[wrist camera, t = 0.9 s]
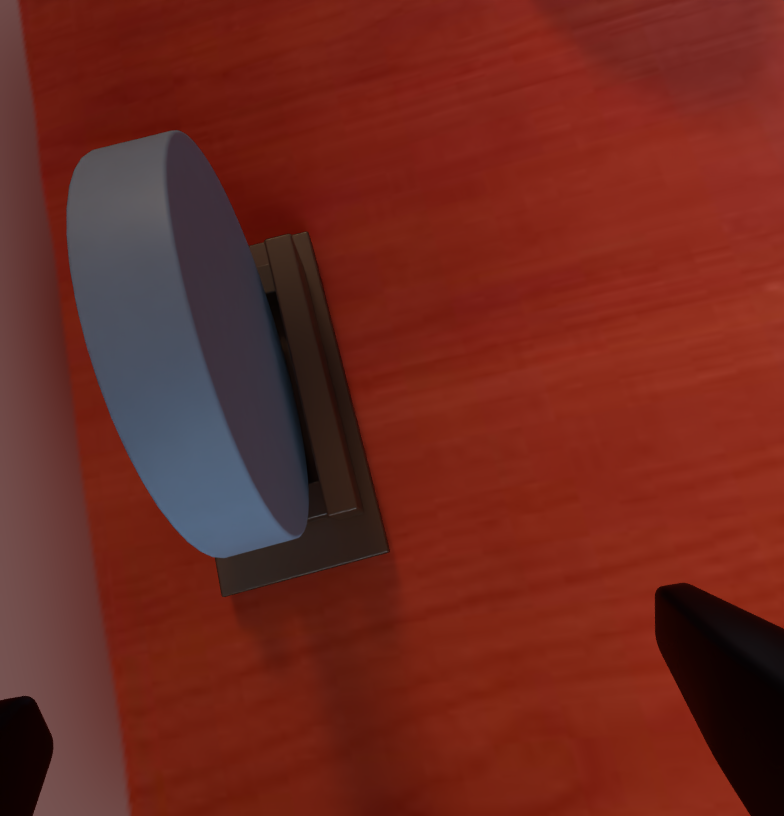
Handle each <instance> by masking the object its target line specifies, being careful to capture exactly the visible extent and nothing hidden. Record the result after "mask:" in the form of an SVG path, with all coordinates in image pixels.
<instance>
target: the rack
mask: <svg viewBox="0 0 784 816" xmlns="http://www.w3.org/2000/svg"><path fill="white" fill-rule="evenodd" d="M249 249H250V251H251V254H252V257H253V259H254V262H255V265H256V268H257V270H258V273H259V276H260V279H261V282H262V285H263V288H264V291H265V294H266V297H267V300H268V303H269V306H270V309H271V312H272V315H273V319H274V322H275V325H276V329H277V332H278V335H279V339H280V343H281V346H282V350H283V353H284V357H285V361H286V365H287V369H288V372H289V376H290V381H291V385H292V389H293V393H294V398H295V402H296V407H297V411H298V416H299V421H300V427H301V432H302V438H303V444H304V450H305V457H306V465H307V474H308V487H309V511H308V519H307V525H306V528H305V531H304V532H303V534H302V535H301V536H300V537H299V538H296V539H294V540H290V541H286V542H282V543H279V544H275V545H271V546H268V547H264V548H260V549H256V550H253V551H249V552H245V553H242V554H238V555H234V556H230V557H227V558H218V557H215V561H216V566H217V572H218V578H219V583H220V589H221V594H222V597H226V596H230V595H233V594H237V593H241V592H244V591H248V590H252V589H256V588H259V587H263V586H267V585H270V584H274V583H278V582H281V581H285V580H289V579H292V578H296V577H300V576H303V575H307V574H311V573H314V572H318V571H322V570H325V569H329V568H333V567H337V566H340V565H344V564H348V563H351V562H355V561H359V560H362V559H366V558H370V557H373V556H377V555H381V554H384V553H388V552H389V551H390V549H389V545H388V541H387V537H386V533H385V529H384V525H383V521H382V517H381V513H380V509H379V505H378V501H377V497H376V494H375V490H374V486H373V482H372V478H371V474H370V470H369V466H368V462H367V458H366V454H365V450H364V446H363V442H362V439H361V435H360V431H359V427H358V423H357V419H356V415H355V411H354V407H353V403H352V399H351V395H350V391H349V387H348V383H347V380H346V376H345V372H344V368H343V364H342V360H341V356H340V352H339V348H338V344H337V340H336V336H335V332H334V328H333V324H332V321H331V317H330V313H329V309H328V305H327V301H326V297H325V293H324V289H323V285H322V281H321V277H320V273H319V269H318V265H317V262H316V258H315V254H314V250H313V246H312V242H311V239H310V236H309V233H308V232H303V233H299V234H295V235H291V234H285V235H281V236H277V237H273V238H269V239H266V240H265V241H264V242H263V243H259V244H255V245H251V246H249Z"/></svg>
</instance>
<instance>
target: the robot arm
mask: <svg viewBox="0 0 784 816" xmlns="http://www.w3.org/2000/svg"><path fill="white" fill-rule="evenodd" d="M655 635H656V640H657V644H658V647H659V650H660V652H661V654H662V656H663V658H664V660H665V662H666V664H667V666H668V668H669V670H670V672H671V674H672V676H673V678H674V680H675V681H676V683H677V685H678V687H679V689H680V691H681V693H682V695H683V697H684V699H685V701H686V703H687V705H688V707H689V709H690V711H691V713H692V715H693V717H694V719H695V721H696V723H697V725H698V727H699V729H700V731H701V733H702V735H703V737H704V739H705V741H706V743H707V744H708V746H709V748H710V750H711V752H712V754H713V756H714V758H715V759H716V761H717V762H718V764H719V766H720V767H721V769H722V771H723V772H724V774H725V776H726V777H727V779H728V781H729V782H730V784H731V785H732V787H733V788H734V790H735V792H736V793H737V795H738V796H739V798H740V800H741V801H742V803H743V804H744V806H745V807H746V809H747V811H748V812H749V814H750V815H751V816H784V629H783V628H781V627H779V626H777V625H775V624H772V623H770V622H768V621H766V620H764V619H762V618H760V617H758V616H756V615H754V614H751V613H749V612H747V611H745V610H743V609H741V608H739V607H737V606H735V605H733V604H730V603H728V602H726V601H724V600H722V599H720V598H718V597H716V596H714V595H712V594H709V593H707V592H705V591H703V590H701V589H699V588H697V587H695V586H693V585H690V584H688V583H678V584H672V585H666V586H661V587H659V588H658V589H657V590H656V593H655ZM52 754H53V738H52V735H51V733H50V731H49V729H48V727H47V724H46V722H45V720H44V718H43V716H42V714H41V712H40V710H39V707H38V705H37V703H36V702H35V700H34V699H33V698H31V697H29V696H22V697H15V698H10V699H4V700H0V816H33V813H34V810H35V807H36V804H37V801H38V798H39V795H40V792H41V789H42V786H43V783H44V780H45V777H46V774H47V770H48V768H49V764H50V761H51V758H52Z"/></svg>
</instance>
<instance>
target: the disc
mask: <svg viewBox="0 0 784 816" xmlns="http://www.w3.org/2000/svg"><path fill="white" fill-rule="evenodd" d="M67 244H68V254H69V264H70V272H71V278H72V283H73V289H74V294H75V300H76V306H77V310H78V314H79V318H80V322H81V326H82V330H83V334H84V338H85V342H86V345H87V349H88V352H89V355H90V358H91V361H92V365H93V368H94V371H95V374H96V377H97V381H98V384H99V386H100V389H101V391H102V394H103V397H104V399H105V402H106V405H107V407H108V410H109V413H110V415H111V418H112V420H113V422H114V425H115V427H116V429H117V431H118V434H119V436H120V438H121V440H122V442H123V445H124V447H125V449H126V451H127V453H128V455H129V457H130V459H131V461H132V463H133V465H134V467H135V469H136V470H137V472H138V474H139V476H140V478H141V480H142V482H143V483H144V485H145V487H146V488H147V490H148V491H149V493H150V495H151V496H152V498H153V499H154V501H155V503H156V504H157V506H158V507H159V509H160V510H161V511H162V513H163V514H164V515H165V516H166V518H167V519H168V520H169V522H170V523H171V524H172V526H173V527H174V528H175V529H176V530H177V531H178V532H179V533H180V534H181V535H182V536H183V537H184V538H185V539H186V541H187V542H189V543H190V544H191V545H193V546H194V547H195V548H197V549H198V550H199V551H201V552H203V553H205V554H207V555H209V556H212V557H218V558H227V557H230V556H234V555H238V554H242V553H245V552H249V551H253V550H256V549H260V548H264V547H268V546H271V545H275V544H279V543H282V542H286V541H290V540H294V539H296V538H299V537H300V536H301V535H302V534H303V532H304V531H305V528H306V525H307V519H308V511H309V487H308V474H307V465H306V457H305V450H304V444H303V438H302V432H301V427H300V421H299V416H298V411H297V407H296V402H295V398H294V393H293V389H292V385H291V381H290V376H289V372H288V369H287V365H286V361H285V357H284V353H283V350H282V346H281V343H280V339H279V335H278V332H277V329H276V325H275V322H274V319H273V315H272V312H271V309H270V306H269V303H268V300H267V297H266V294H265V291H264V288H263V285H262V282H261V279H260V276H259V273H258V270H257V268H256V265H255V262H254V259H253V257H252V254H251V251H250V249H249V246H248V244H247V241H246V239H245V236H244V234H243V231H242V229H241V226H240V224H239V222H238V219H237V217H236V215H235V212H234V210H233V208H232V206H231V204H230V201H229V199H228V197H227V195H226V193H225V191H224V189H223V187H222V185H221V183H220V181H219V179H218V177H217V176H216V174H215V172H214V170H213V168H212V167H211V165H210V163H209V162H208V160H207V159H206V157H205V156H204V154H203V153H202V151H201V150H200V149H199V147H198V146H197V145H196V144H195V142H194V141H193V140H192V139H191V138H190V137H189V136H188V135H187V134H185V133H183V132H181V131H178V130H175V131H168V132H164V133H160V134H156V135H152V136H148V137H144V138H140V139H136V140H132V141H128V142H124V143H120V144H115V145H111V146H107V147H103V148H99V149H95V150H92V151H90V152H89V153H88V154H86V155H85V156H83V157H82V158H81V160H80V161H79V163H78V165H77V166H76V168H75V169H74V172H73V176H72V179H71V182H70V186H69V193H68V201H67Z"/></svg>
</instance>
